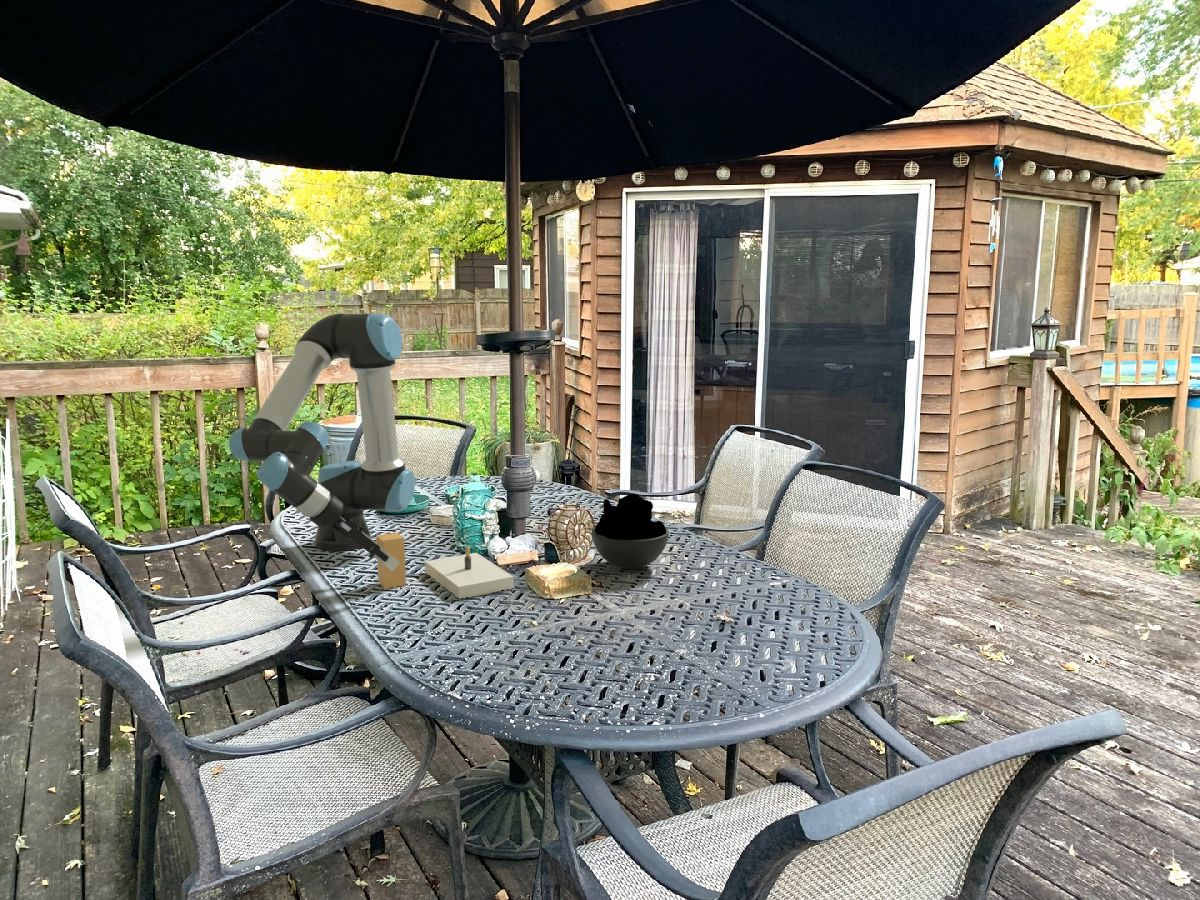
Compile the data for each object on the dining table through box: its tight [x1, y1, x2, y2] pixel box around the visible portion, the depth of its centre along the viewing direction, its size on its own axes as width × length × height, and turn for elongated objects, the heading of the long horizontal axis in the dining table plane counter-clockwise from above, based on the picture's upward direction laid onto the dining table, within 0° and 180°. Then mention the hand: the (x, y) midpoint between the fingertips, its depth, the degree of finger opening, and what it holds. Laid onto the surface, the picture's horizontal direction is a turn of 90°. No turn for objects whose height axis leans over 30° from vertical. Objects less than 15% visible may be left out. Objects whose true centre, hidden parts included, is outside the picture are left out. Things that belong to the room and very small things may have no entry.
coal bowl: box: [591, 493, 670, 570], centre depth 213 cm, size 20×20×19 cm
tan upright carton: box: [375, 532, 407, 589], centre depth 200 cm, size 5×5×12 cm
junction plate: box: [424, 546, 515, 600], centre depth 203 cm, size 22×14×8 cm, turn 32°
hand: (387, 558), depth 198 cm, fingers open, 13 cm apart
